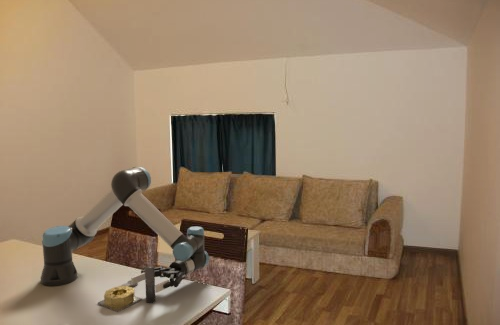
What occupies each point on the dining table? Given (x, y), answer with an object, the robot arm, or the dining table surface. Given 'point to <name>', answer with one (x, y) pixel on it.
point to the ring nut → (119, 298)
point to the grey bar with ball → (129, 284)
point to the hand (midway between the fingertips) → (143, 285)
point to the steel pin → (150, 284)
